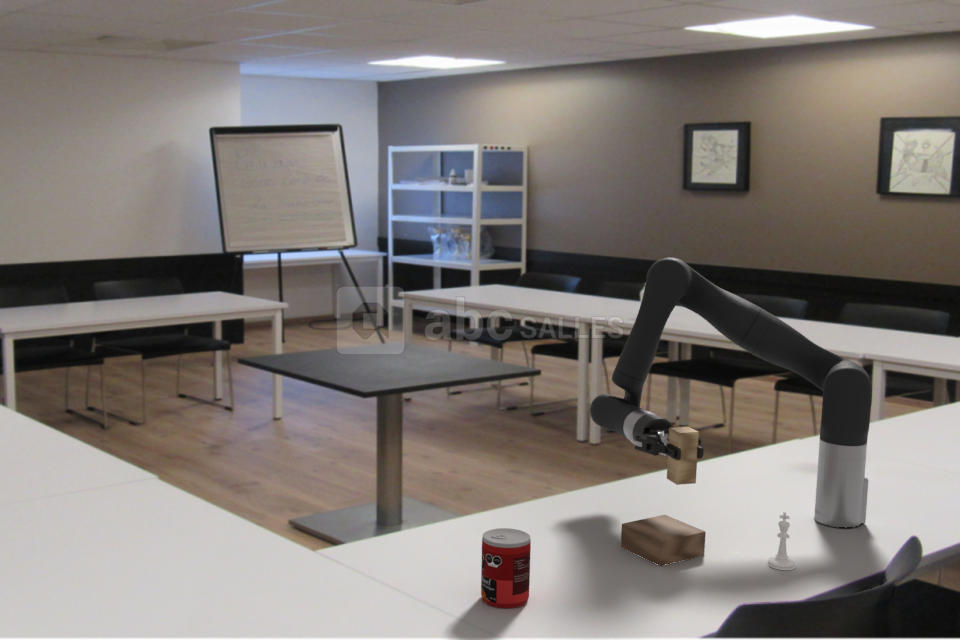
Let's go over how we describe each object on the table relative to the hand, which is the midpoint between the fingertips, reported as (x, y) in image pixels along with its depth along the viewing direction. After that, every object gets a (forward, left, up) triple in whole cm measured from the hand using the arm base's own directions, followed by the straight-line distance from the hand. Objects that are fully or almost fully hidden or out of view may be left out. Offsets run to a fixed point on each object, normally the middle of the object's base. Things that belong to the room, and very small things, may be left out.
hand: (690, 454), depth 185 cm
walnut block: (+4, -1, -19) cm, 20 cm away
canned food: (+40, +12, -19) cm, 46 cm away
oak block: (0, -3, -6) cm, 7 cm away
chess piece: (-14, +11, -19) cm, 26 cm away
